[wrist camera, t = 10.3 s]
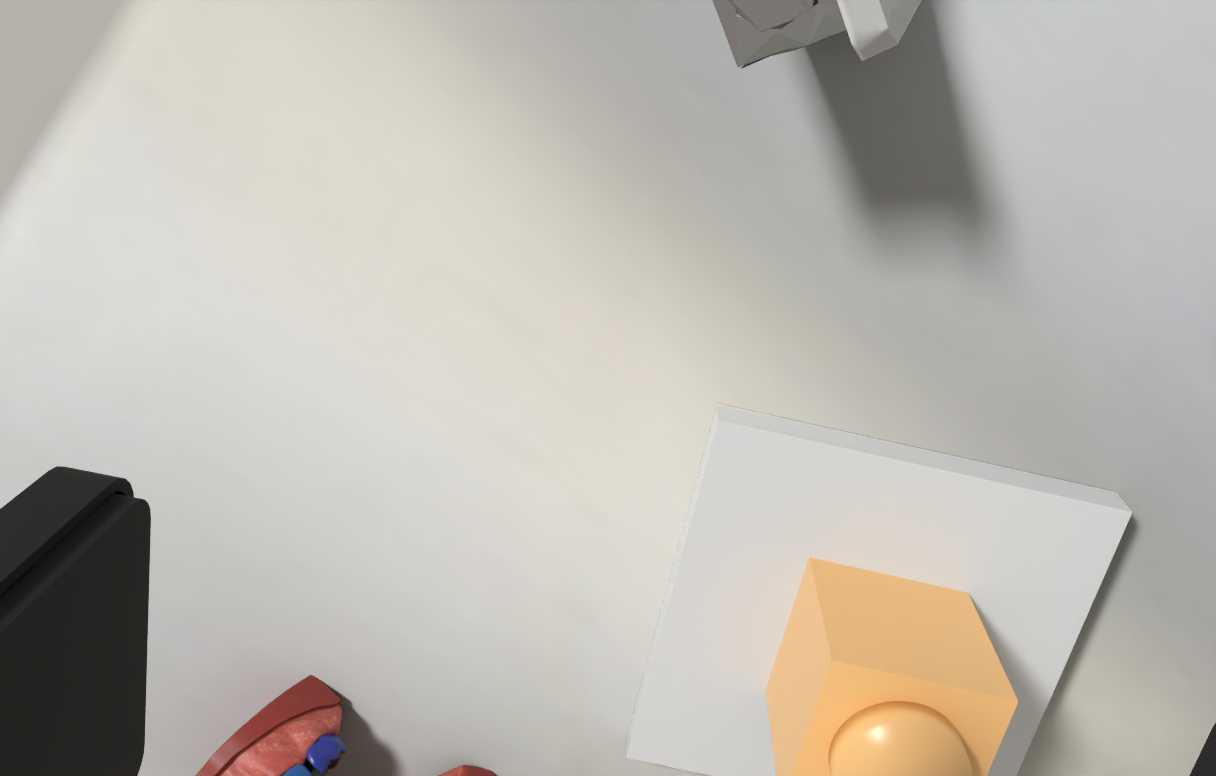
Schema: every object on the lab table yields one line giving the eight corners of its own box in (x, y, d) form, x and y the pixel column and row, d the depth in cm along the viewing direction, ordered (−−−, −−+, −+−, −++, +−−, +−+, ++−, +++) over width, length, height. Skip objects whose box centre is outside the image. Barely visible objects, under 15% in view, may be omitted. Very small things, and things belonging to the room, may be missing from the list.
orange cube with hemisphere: (967, 592, 38) (1028, 723, 31) (916, 723, 40) (963, 871, 33) (809, 556, 37) (836, 680, 31) (765, 689, 39) (782, 832, 33)
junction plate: (1115, 491, 38) (1184, 574, 32) (980, 807, 43) (1021, 922, 37) (717, 403, 37) (723, 472, 32) (627, 731, 42) (620, 836, 37)
